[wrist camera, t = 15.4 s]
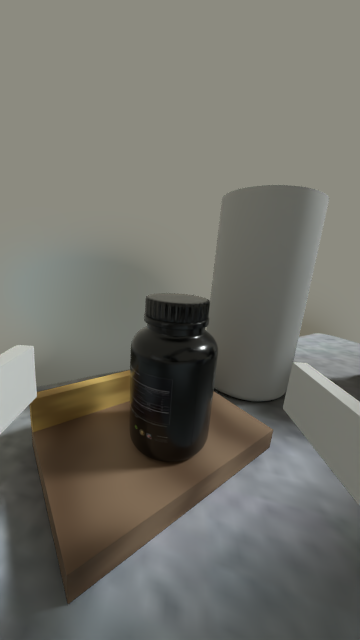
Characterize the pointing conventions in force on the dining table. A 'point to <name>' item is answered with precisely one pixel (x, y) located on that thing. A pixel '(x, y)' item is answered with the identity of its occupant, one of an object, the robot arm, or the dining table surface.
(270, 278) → the cylinder vase
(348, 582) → the dining table surface
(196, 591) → the dining table surface
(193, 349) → the supplement bottle
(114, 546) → the brown flat block
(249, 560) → the dining table surface
